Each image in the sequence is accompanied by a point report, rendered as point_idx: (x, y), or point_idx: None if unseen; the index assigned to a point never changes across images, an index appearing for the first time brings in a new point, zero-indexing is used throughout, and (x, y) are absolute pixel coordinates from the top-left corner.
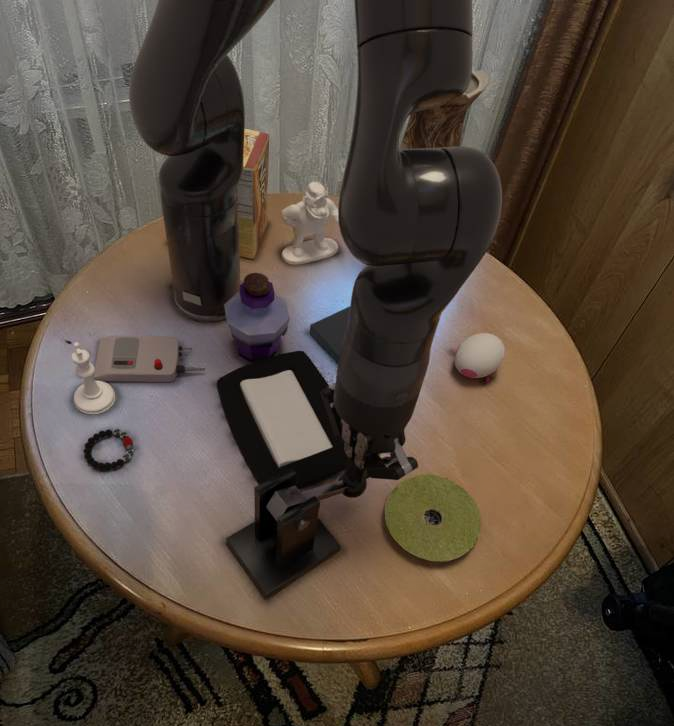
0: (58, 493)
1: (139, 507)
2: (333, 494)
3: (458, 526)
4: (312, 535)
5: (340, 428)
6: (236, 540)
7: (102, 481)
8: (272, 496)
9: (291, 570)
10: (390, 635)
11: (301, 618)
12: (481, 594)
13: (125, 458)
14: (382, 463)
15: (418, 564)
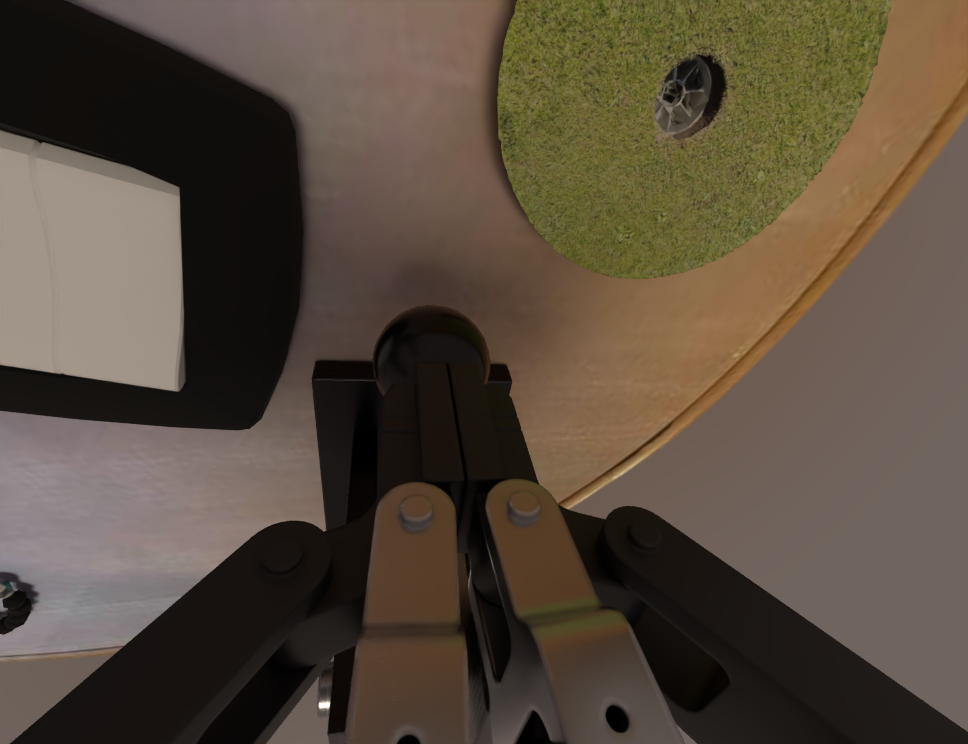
0: (67, 650)
1: (160, 585)
2: None
3: (799, 46)
4: None
5: (274, 721)
6: (344, 523)
7: (61, 610)
8: None
9: None
10: (706, 391)
11: (549, 482)
12: (888, 157)
13: (4, 596)
14: (642, 603)
15: None
